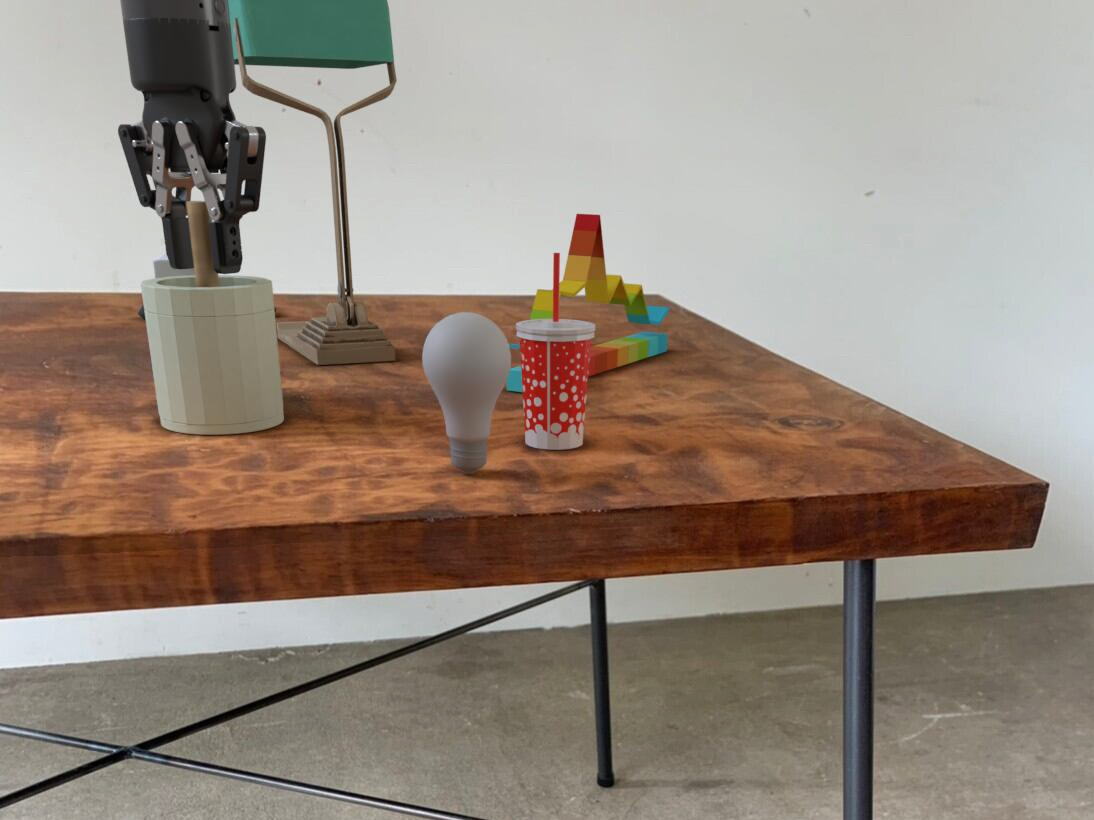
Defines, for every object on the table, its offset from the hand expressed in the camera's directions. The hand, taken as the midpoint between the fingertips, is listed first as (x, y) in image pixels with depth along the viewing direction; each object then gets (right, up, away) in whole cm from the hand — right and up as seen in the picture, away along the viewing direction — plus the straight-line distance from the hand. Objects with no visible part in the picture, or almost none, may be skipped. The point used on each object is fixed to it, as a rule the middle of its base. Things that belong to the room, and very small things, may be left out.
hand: (205, 269), depth 92 cm
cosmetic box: (-5, -7, +13) cm, 16 cm away
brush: (0, -10, +5) cm, 11 cm away
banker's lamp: (+2, +7, +40) cm, 40 cm away
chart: (+32, +2, +30) cm, 44 cm away
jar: (0, -11, +5) cm, 12 cm away
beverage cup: (+28, -14, +1) cm, 31 cm away
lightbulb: (+22, -18, -8) cm, 29 cm away
